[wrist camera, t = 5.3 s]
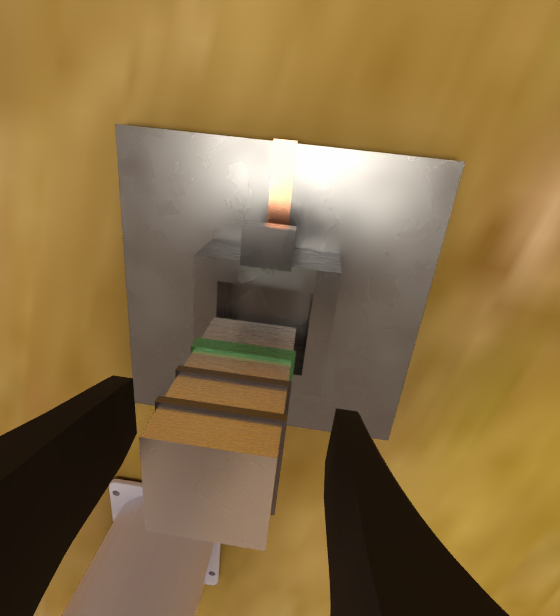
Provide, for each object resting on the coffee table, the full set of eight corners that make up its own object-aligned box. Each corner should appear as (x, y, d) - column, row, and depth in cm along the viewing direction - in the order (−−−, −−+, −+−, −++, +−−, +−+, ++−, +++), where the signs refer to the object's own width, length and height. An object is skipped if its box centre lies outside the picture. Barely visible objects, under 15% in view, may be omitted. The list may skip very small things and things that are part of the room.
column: (289, 398, 15) (268, 554, 9) (209, 387, 15) (141, 533, 9) (299, 325, 14) (282, 455, 8) (211, 314, 14) (134, 432, 8)
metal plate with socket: (385, 428, 23) (399, 493, 19) (141, 392, 24) (102, 446, 19) (458, 158, 17) (503, 163, 12) (125, 122, 18) (63, 115, 13)
